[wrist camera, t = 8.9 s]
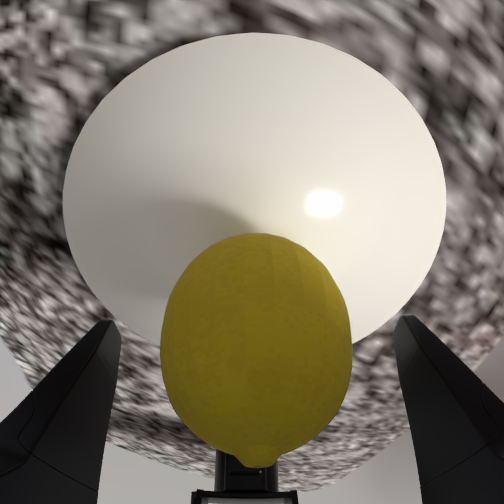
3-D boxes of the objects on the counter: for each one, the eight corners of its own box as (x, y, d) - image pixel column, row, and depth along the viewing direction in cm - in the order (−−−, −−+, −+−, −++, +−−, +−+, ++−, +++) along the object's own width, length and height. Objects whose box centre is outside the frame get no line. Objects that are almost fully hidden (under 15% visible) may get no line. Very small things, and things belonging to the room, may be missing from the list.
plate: (385, 342, 18) (390, 358, 17) (126, 346, 18) (122, 362, 17) (462, 64, 9) (479, 69, 8) (42, 69, 9) (24, 75, 8)
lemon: (173, 287, 14) (135, 471, 7) (203, 170, 10) (140, 400, 4) (292, 315, 15) (309, 488, 8) (350, 216, 12) (430, 423, 5)
